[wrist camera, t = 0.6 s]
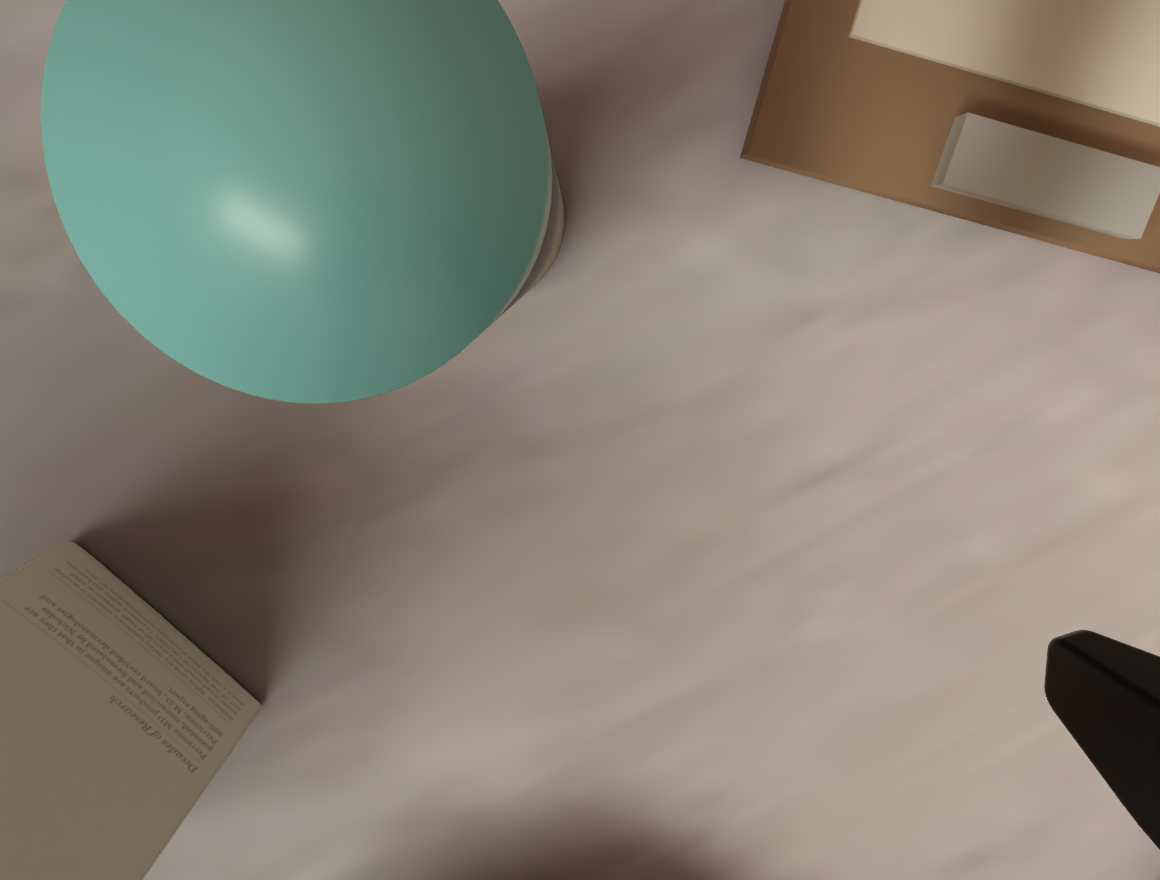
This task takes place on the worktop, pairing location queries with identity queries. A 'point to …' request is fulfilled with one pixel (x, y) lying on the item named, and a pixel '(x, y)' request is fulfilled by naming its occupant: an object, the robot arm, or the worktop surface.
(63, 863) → the supplement box
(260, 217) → the green-topped grey cylinder
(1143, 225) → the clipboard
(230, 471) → the worktop surface
